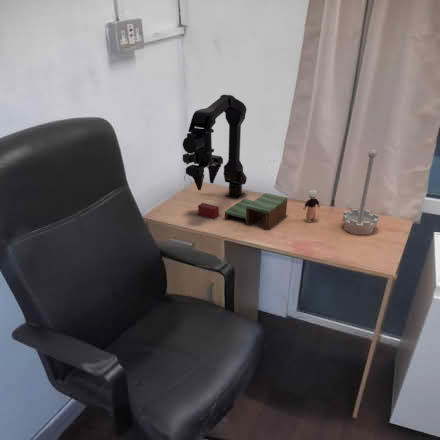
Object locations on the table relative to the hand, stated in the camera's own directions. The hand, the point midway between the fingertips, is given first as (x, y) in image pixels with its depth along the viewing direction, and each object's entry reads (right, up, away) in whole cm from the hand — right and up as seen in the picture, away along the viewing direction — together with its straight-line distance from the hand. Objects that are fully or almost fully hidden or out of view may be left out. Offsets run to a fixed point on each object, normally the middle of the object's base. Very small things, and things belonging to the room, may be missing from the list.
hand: (205, 186), depth 167 cm
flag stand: (+60, -18, -5) cm, 62 cm away
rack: (+20, -12, +5) cm, 24 cm away
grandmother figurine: (+42, -13, +2) cm, 44 cm away
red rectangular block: (+1, -10, +7) cm, 12 cm away
